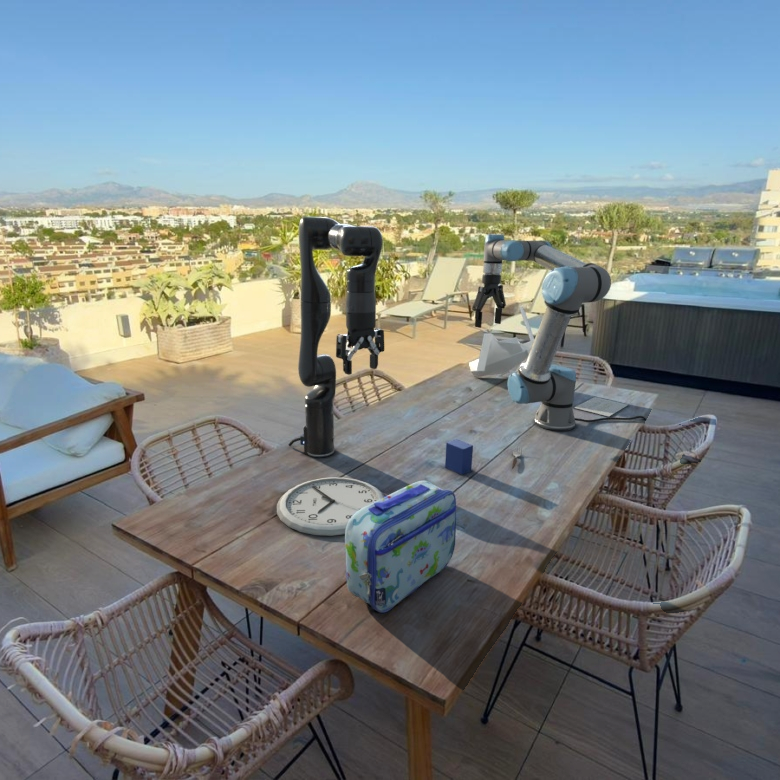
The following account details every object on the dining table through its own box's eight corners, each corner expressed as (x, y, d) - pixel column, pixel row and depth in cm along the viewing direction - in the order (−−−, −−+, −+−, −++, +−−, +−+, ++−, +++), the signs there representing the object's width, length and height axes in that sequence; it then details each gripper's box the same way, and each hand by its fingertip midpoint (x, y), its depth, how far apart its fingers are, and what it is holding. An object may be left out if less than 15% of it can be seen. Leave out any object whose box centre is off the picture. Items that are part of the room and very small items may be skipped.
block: (454, 463, 170) (456, 438, 167) (471, 470, 165) (473, 445, 162) (444, 467, 166) (446, 442, 164) (461, 475, 162) (463, 449, 159)
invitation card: (608, 416, 214) (573, 407, 224) (608, 416, 214) (573, 408, 224) (628, 404, 229) (594, 396, 238) (628, 405, 229) (594, 397, 238)
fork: (508, 469, 165) (508, 463, 165) (514, 450, 180) (515, 445, 179) (516, 471, 165) (516, 465, 164) (522, 451, 179) (522, 446, 178)
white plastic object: (489, 418, 267) (470, 395, 242) (471, 346, 289) (451, 318, 264) (561, 394, 254) (547, 368, 230) (535, 321, 277) (521, 289, 252)
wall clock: (392, 527, 129) (268, 531, 127) (391, 533, 130) (269, 537, 127) (383, 473, 158) (282, 475, 155) (383, 478, 158) (282, 480, 156)
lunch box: (374, 626, 100) (375, 530, 93) (338, 598, 107) (337, 508, 101) (459, 568, 117) (465, 484, 111) (424, 547, 124) (427, 467, 118)
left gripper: (372, 305, 139) (372, 364, 144) (329, 309, 130) (330, 372, 135) (391, 308, 134) (390, 369, 139) (347, 313, 125) (348, 379, 129)
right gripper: (502, 271, 224) (498, 320, 230) (465, 274, 207) (462, 327, 214) (517, 273, 218) (512, 323, 225) (480, 276, 202) (476, 330, 208)
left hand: (360, 371), depth 137 cm, fingers open, 8 cm apart
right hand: (487, 325), depth 219 cm, fingers open, 13 cm apart
